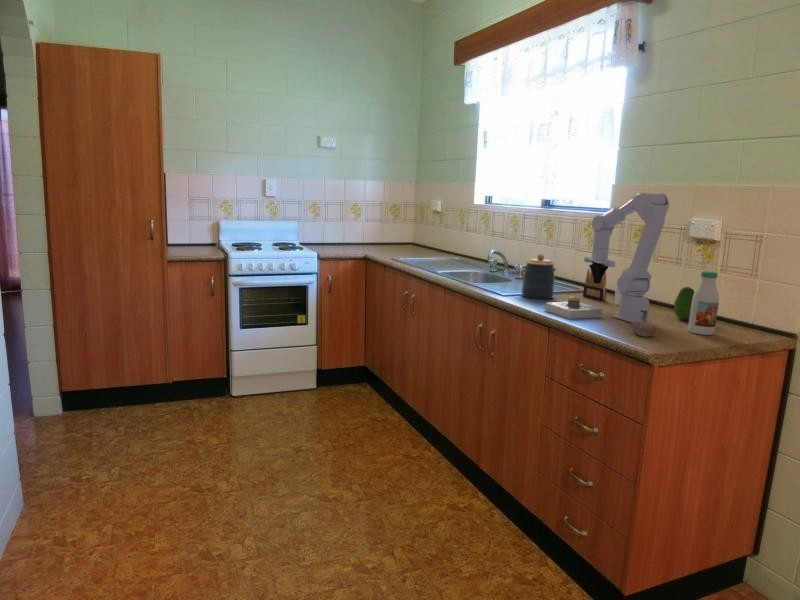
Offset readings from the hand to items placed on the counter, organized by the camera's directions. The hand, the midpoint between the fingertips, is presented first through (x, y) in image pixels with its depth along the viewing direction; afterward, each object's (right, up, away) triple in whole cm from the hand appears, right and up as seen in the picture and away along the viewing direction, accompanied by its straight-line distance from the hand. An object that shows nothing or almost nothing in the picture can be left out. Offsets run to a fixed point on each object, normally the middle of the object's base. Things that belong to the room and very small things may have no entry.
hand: (596, 283), depth 224 cm
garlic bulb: (+1, -18, -39) cm, 43 cm away
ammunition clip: (+6, -6, +20) cm, 22 cm away
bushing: (-13, -11, -12) cm, 21 cm away
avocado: (+26, -14, -14) cm, 33 cm away
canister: (-18, -5, +20) cm, 27 cm away
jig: (-13, -11, -12) cm, 21 cm away
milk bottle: (+23, -17, -33) cm, 44 cm away
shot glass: (+13, -8, +10) cm, 19 cm away
